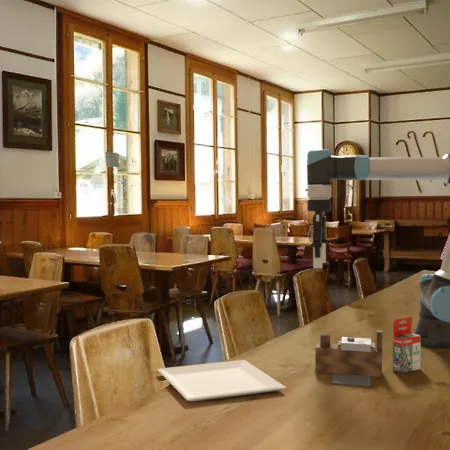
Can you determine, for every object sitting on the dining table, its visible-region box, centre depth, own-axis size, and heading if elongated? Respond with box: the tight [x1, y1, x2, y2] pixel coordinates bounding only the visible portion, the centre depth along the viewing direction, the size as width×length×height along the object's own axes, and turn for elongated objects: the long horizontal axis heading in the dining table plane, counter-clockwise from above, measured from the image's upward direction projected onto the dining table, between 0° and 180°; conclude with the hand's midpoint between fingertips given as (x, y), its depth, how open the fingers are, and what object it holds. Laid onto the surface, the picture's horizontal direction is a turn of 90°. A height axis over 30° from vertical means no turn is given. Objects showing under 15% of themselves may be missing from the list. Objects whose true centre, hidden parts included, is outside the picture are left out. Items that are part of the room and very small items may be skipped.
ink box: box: [391, 316, 422, 374], centre depth 174 cm, size 4×8×15 cm, turn 124°
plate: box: [157, 359, 286, 402], centre depth 161 cm, size 26×26×2 cm
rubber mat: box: [331, 373, 372, 388], centre depth 164 cm, size 10×8×1 cm
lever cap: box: [341, 336, 372, 352], centre depth 171 cm, size 8×7×3 cm
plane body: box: [314, 329, 383, 378], centre depth 172 cm, size 18×5×12 cm, turn 77°
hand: (319, 265), depth 196 cm, fingers open, 13 cm apart
